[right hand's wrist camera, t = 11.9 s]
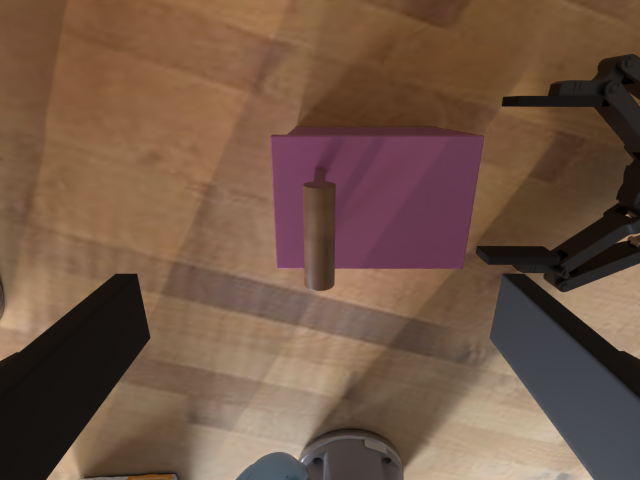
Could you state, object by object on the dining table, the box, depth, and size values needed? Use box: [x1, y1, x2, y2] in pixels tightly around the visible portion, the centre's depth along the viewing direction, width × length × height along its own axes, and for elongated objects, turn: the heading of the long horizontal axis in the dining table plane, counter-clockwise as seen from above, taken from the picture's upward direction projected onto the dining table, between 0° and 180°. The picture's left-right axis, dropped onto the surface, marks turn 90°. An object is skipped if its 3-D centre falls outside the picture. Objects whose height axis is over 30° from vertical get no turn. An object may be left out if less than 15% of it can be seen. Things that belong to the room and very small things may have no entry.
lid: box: [270, 135, 484, 291], centre depth 23 cm, size 15×10×8 cm
